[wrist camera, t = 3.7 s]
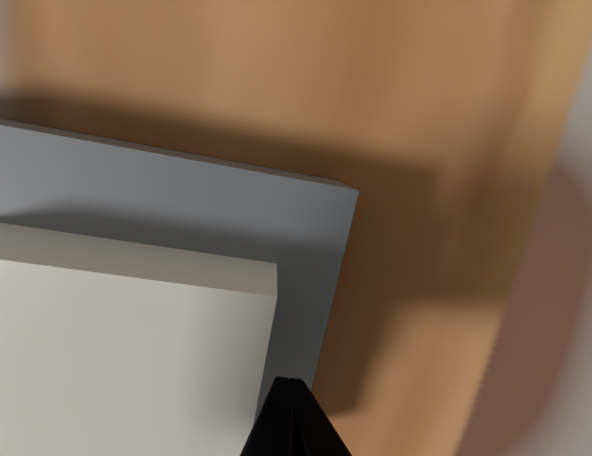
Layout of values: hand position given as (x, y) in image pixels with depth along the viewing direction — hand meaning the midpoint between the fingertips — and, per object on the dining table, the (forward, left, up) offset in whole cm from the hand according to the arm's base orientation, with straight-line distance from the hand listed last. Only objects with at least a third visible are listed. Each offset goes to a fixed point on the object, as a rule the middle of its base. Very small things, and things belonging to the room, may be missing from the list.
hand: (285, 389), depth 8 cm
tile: (0, +5, -1) cm, 5 cm away
